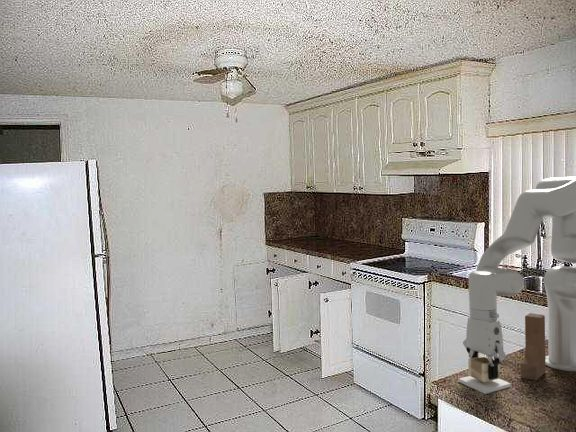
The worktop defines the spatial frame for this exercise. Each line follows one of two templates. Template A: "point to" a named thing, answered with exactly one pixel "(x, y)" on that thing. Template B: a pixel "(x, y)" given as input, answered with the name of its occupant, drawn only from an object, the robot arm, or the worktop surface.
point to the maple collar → (480, 368)
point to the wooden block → (534, 347)
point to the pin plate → (484, 384)
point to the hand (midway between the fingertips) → (484, 374)
